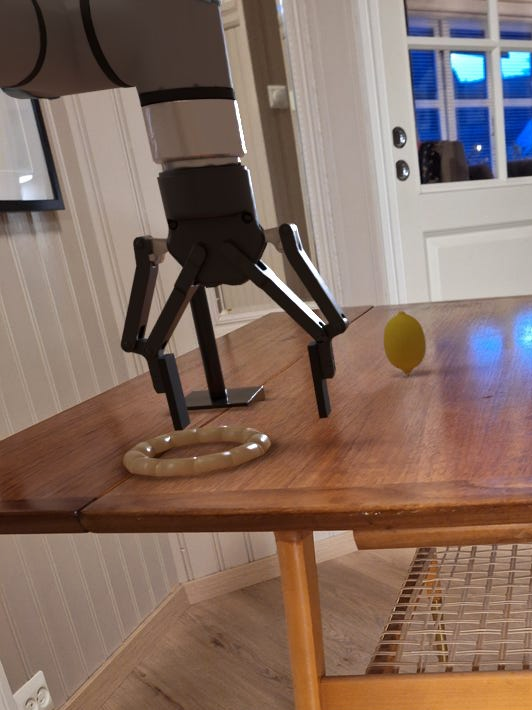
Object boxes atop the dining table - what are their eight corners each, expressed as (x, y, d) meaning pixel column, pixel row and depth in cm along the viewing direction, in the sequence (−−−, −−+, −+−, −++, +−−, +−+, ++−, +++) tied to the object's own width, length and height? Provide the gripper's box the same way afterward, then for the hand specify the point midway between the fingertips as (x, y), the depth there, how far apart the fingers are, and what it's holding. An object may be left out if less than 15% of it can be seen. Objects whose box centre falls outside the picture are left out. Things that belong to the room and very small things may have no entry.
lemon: (429, 368, 118) (423, 306, 115) (427, 377, 113) (421, 312, 110) (389, 371, 119) (382, 309, 115) (385, 380, 114) (377, 315, 110)
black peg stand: (173, 420, 101) (142, 287, 94) (194, 403, 109) (167, 279, 102) (249, 415, 101) (224, 281, 94) (265, 398, 109) (242, 273, 102)
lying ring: (107, 491, 78) (100, 467, 77) (154, 450, 90) (148, 429, 89) (255, 481, 78) (250, 457, 77) (282, 441, 89) (278, 419, 88)
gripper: (356, 152, 75) (388, 400, 85) (71, 179, 75) (136, 422, 85) (345, 150, 68) (381, 419, 78) (33, 179, 69) (109, 442, 79)
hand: (254, 421), depth 82 cm, fingers open, 13 cm apart
